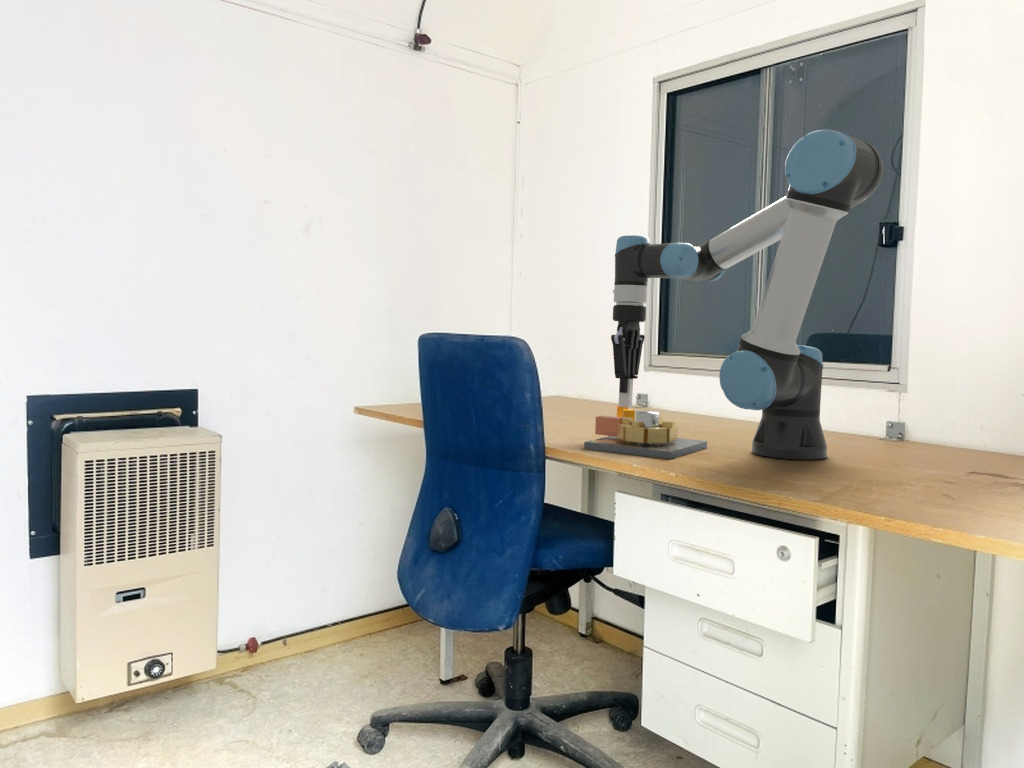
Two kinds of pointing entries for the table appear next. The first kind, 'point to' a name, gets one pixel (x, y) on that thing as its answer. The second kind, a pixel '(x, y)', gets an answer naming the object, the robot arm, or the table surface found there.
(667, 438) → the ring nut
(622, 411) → the pipe clamp
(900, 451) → the table surface
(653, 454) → the flange plate
